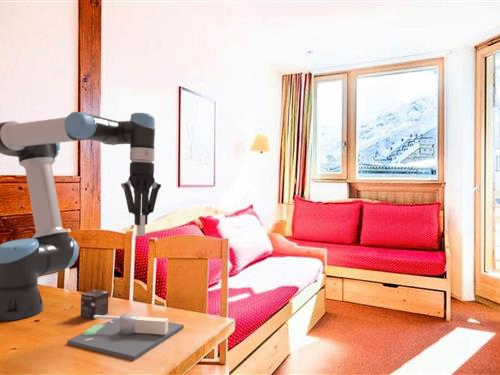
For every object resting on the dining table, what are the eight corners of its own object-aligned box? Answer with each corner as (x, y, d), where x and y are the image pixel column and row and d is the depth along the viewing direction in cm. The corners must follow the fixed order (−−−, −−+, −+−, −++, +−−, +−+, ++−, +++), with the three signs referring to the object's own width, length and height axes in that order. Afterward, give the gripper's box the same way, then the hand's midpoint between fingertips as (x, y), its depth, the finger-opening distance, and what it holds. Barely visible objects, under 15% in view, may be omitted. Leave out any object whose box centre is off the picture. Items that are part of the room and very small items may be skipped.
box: (79, 317, 116) (80, 294, 116) (94, 311, 122) (94, 289, 122) (94, 320, 114) (94, 296, 114) (108, 313, 119) (109, 291, 119)
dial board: (64, 343, 97) (64, 338, 97) (123, 316, 118) (123, 312, 118) (134, 360, 88) (134, 355, 88) (184, 327, 109) (184, 323, 109)
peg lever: (89, 332, 101) (89, 317, 101) (98, 325, 106) (99, 311, 106) (163, 337, 99) (163, 322, 99) (169, 330, 104) (169, 316, 104)
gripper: (127, 160, 110) (126, 238, 110) (166, 162, 119) (164, 234, 119) (117, 161, 115) (116, 235, 115) (154, 163, 124) (153, 232, 124)
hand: (140, 235), depth 117 cm, fingers closed
